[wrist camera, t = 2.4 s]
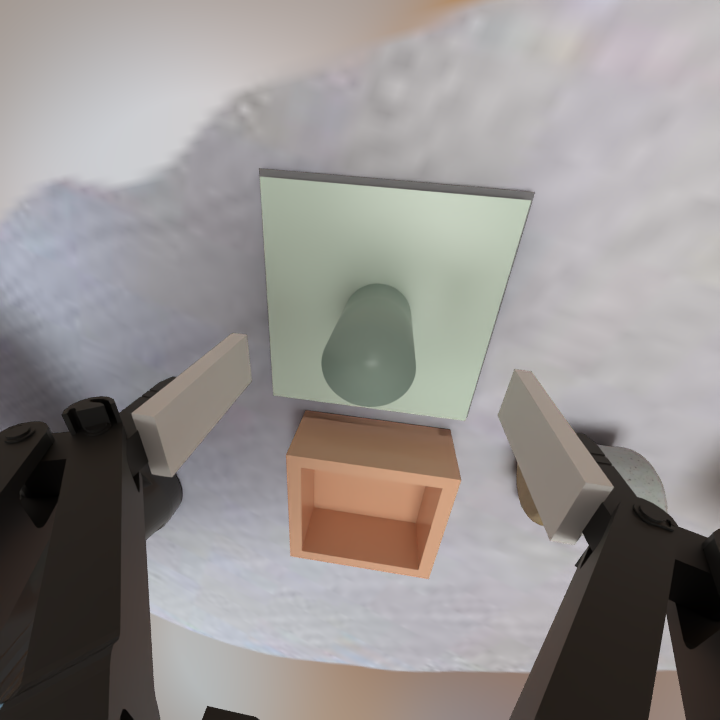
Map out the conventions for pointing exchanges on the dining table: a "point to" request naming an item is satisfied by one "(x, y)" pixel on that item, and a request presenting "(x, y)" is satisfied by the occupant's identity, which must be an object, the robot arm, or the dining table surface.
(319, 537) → the dish
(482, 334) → the lid
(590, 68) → the dining table surface
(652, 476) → the ceramic mug
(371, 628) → the dining table surface
